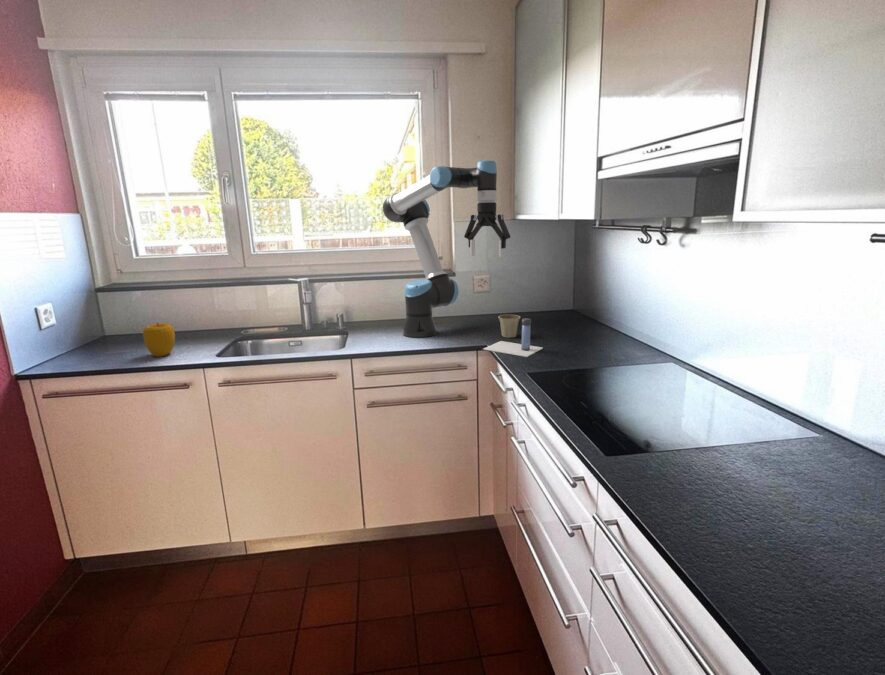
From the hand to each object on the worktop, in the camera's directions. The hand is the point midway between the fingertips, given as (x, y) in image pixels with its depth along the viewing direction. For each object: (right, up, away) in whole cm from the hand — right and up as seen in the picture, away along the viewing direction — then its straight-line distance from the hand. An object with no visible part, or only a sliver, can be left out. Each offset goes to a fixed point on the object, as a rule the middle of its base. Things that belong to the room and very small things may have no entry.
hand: (486, 256), depth 195 cm
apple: (-129, -40, -6) cm, 135 cm away
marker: (+14, -38, -10) cm, 41 cm away
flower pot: (+11, -33, +12) cm, 37 cm away
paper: (+10, -38, -7) cm, 39 cm away
